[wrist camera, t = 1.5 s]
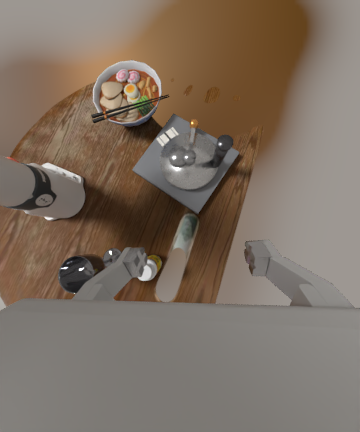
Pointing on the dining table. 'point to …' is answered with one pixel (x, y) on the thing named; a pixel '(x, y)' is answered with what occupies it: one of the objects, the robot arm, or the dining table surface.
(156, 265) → the supplement bottle
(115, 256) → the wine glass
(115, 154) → the dining table surface
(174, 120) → the grey flat square slab
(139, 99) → the ramen bowl
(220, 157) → the wheel
